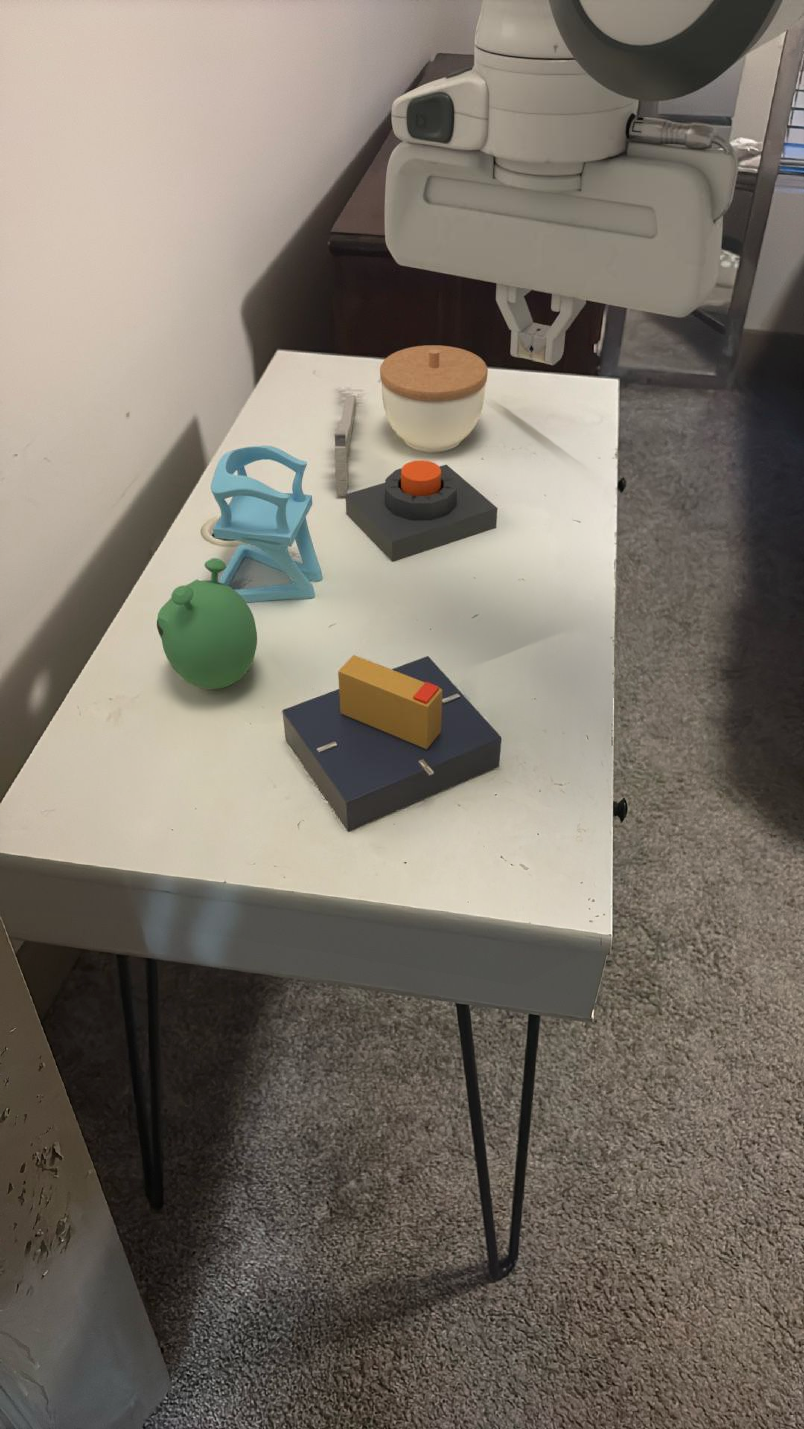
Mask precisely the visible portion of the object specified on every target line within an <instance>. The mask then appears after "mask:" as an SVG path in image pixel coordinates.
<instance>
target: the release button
mask: <svg viewBox="0 0 804 1429" xmlns="http://www.w3.org/2000/svg"><path fill="white" fill-rule="evenodd" d="M401 468H402V469H401ZM401 468H400V469H401V488H402V490H403V492H404V493H407V494H410V495H413V496H429V495H432V494H435V493H438V492H439V490H440V488H441V469H440V467H439V465H438V464H437V463H435V462H433V461H429V460H425V459H424V460H421V459H420V460H418V459H417V460H412V461H408V462H407V463H405V464H404V465H403V466H402V467H401Z"/></svg>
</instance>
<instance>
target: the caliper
mask: <svg viewBox="0 0 804 1429" xmlns="http://www.w3.org/2000/svg"><path fill="white" fill-rule="evenodd" d="M356 402H357V397H356V395H355V394H354V395H353V394H349V395H347V394H346V395H345V400H344V403H343V404H344V405H343V410H342V414H341V419H340V424H339V425H338V429H335V433H334V470H335V488H336V490H335V491H336V496H338V497H339V496H342V497H343V496H345V495H346V494H348V490H349V457H350V454H351V438H352V432H353V426H354V420H355V414H356ZM345 497H346V496H345Z"/></svg>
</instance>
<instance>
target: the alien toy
mask: <svg viewBox="0 0 804 1429" xmlns="http://www.w3.org/2000/svg"><path fill="white" fill-rule="evenodd" d="M204 567H205V569H206V570H207V571H208V572H210V573H211V577H210V578H211V579H207V580H206V579H205V580H199V579H194V580H193V581H191V582H190V583H187V584H186V585H179V586H178V587H176V588H174V589H173V591H172V593H171V596H170V598H169V599H168V600H167V601H166V602H165V603H164V605H162V607H161V608H160V609H159V611H158V612H157V619H156V628H157V632H158V635H159V637H160V639H161V644H162V650H163V652H164V654H165V656H166V659H167V661H168V662H169V664H170V666H171V668H172V669H173V671H175V673H177V675H178V676H179V677H181V678H182V680H184V681H185V682H187V683H188V684H190V685H193V686H195V687H197V688H200V689H201V688H202V689H205V690H218V689H223V688H227V687H229V686H231V685H233V684H235V683H236V682H238V681H239V680H240V679H241V678H243V677H244V675H245V674H246V673H247V672H248V670H249V669H250V667H251V665H252V663H253V661H254V659H255V655H256V652H257V647H258V646H257V645H258V632H257V625H256V620H255V617H254V614H253V612H252V609H251V608H250V606H249V605H248V602H245V600H244V599H243V598H242V596H241V595H240V594H239V593H237V592H236V591H235V590H236V589H233V588H232V587H231V586H227V585H225V584H223V583H220V582H219V580H218V579H219V574H220V573H221V572H224V571H225V569H226V567H227V564H226V563H225V562H224V561H222V560H221V559H220V558H217V557H214V558H213V557H212V558H210V559H208V560H206V561H205V562H204Z"/></svg>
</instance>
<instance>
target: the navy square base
mask: <svg viewBox="0 0 804 1429" xmlns="http://www.w3.org/2000/svg"><path fill="white" fill-rule="evenodd" d="M390 669H391V670H394V671H396V672H399V673H402V674H404V675H407V676H409V677H412V678H414V679H417V680H420V681H422V682H428V683H431V684H433V685H436V686H438V687H439V688H440V689H442V716H441V732H440V734H439V735H438V736H437V737H436V739H435V740H434V741H433V742H432V744H431V745H430V746H429V747H428V749H425V748H422V747H420V746H417V745H415V744H413V743H410V742H408V741H405V740H403V739H401V738H398V737H396V736H394V735H391V734H389V733H386V732H384V731H382V730H379V729H377V728H374V727H372V726H370V725H367V724H365V723H362V722H360V721H358V720H355V719H353V718H350V717H348V716H346V715H343V714H341V710H340V694H339V688H338V689H335V690H331V691H329V692H327V693H324V694H322V695H319V696H316V697H313V698H311V699H308V700H306V701H302V702H300V703H297V704H293V705H292V706H289V707H287V708H284V709H282V711H281V712H282V720H283V728H284V737H285V741H286V743H287V744H288V745H289V747H290V748H291V750H292V752H293V753H294V754H295V756H296V757H297V759H298V760H299V762H300V763H301V765H303V767H304V769H305V771H306V772H307V773H308V775H309V776H310V778H311V779H312V780H313V782H314V784H315V786H316V787H317V789H318V790H319V791H320V793H321V794H322V796H323V797H324V798H325V800H326V801H327V803H328V805H329V806H330V807H331V809H332V810H333V811H334V813H335V815H336V817H338V819H339V820H340V822H341V824H342V825H343V826H344V828H345V829H346V831H347V832H352V831H354V830H356V829H358V828H361V827H363V826H366V825H367V824H370V823H372V822H375V821H377V820H379V819H382V818H384V817H386V816H388V815H392V814H393V813H395V812H398V811H401V810H403V809H405V808H408V807H410V806H412V805H414V804H416V803H419V802H420V801H423V800H426V799H429V798H431V797H433V796H436V795H437V794H440V793H443V792H444V791H447V790H449V789H451V788H453V787H456V786H458V785H461V784H463V783H466V782H467V781H471V780H472V779H475V778H476V777H479V776H481V775H485V774H487V773H488V772H491V771H493V770H496V769H497V768H499V767H500V761H501V748H502V740H503V739H502V736H501V735H500V734H499V733H498V732H497V731H496V730H495V728H493V726H492V724H490V723H489V722H488V720H486V718H484V716H483V715H482V714H481V713H480V711H478V709H477V708H476V707H475V706H474V705H473V704H472V703H471V702H470V701H469V699H468V698H467V697H466V696H465V695H464V694H463V693H462V692H461V691H460V689H458V688H457V686H456V685H455V684H454V683H453V682H452V680H450V678H449V677H448V676H447V675H446V674H445V672H443V671H442V669H441V668H440V667H439V666H438V665H437V664H436V663H435V662H434V660H433V659H432V658H431V657H430V656H429V655H427V656H424V657H421V658H418V659H415V660H413V661H410V662H408V663H407V662H406V663H405V664H402V665H399V666H396V667H394V668H390Z"/></svg>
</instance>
